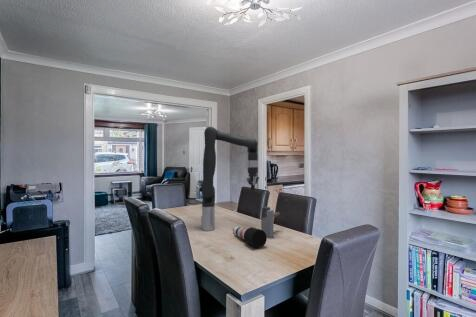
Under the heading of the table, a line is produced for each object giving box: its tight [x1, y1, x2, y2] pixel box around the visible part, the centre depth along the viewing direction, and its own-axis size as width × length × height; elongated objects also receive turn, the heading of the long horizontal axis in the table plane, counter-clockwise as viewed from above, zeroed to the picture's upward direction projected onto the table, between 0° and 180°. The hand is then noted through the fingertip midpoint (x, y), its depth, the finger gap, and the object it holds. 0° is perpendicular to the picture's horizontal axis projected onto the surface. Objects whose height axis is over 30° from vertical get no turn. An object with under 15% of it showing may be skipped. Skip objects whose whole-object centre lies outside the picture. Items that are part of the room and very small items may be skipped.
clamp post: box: [260, 209, 275, 239], centre depth 173 cm, size 7×4×18 cm, turn 51°
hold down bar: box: [261, 206, 281, 220], centre depth 179 cm, size 4×17×8 cm, turn 140°
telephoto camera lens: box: [232, 226, 268, 249], centre depth 167 cm, size 10×34×10 cm, turn 24°
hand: (252, 190), depth 190 cm, fingers closed
